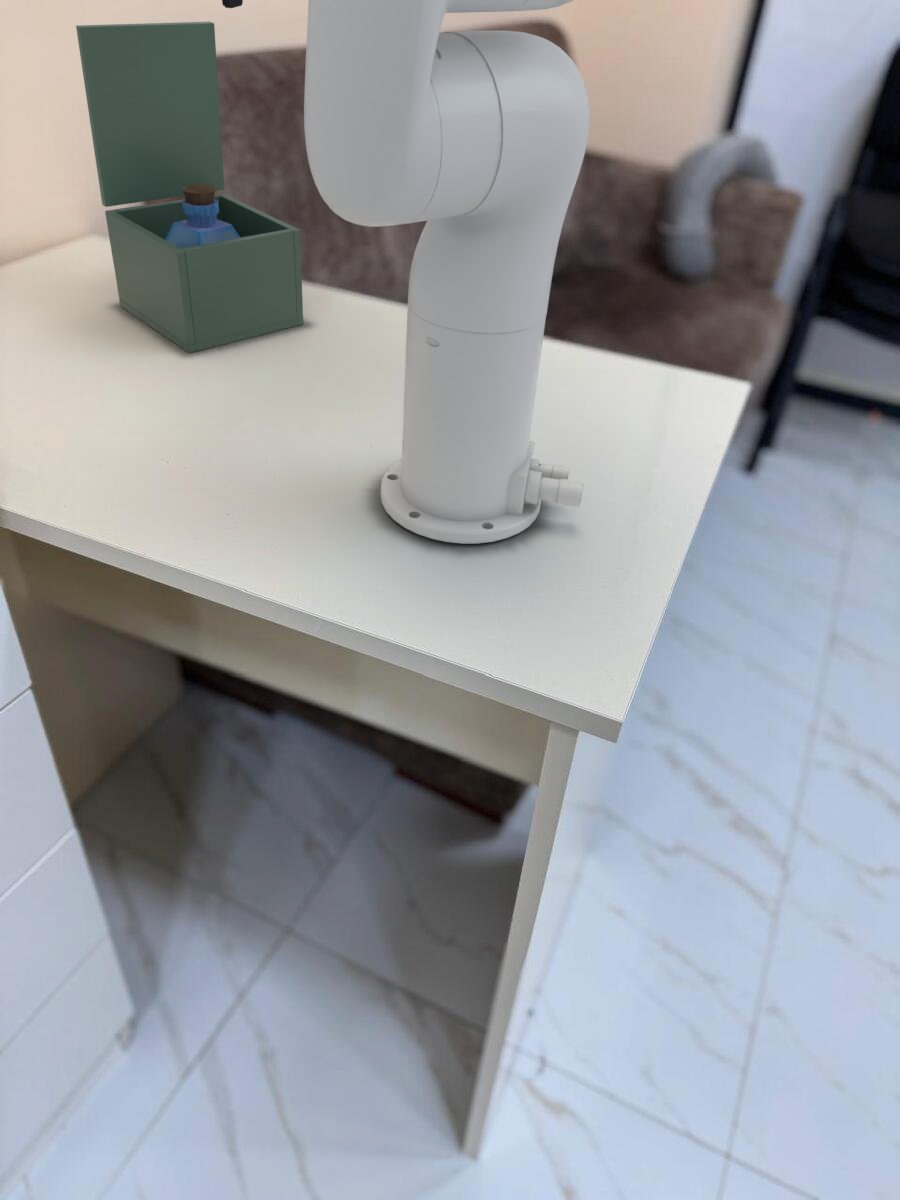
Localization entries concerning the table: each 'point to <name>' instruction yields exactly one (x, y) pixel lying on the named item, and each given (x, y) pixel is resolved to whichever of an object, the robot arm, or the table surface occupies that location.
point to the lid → (152, 108)
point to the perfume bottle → (200, 219)
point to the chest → (207, 274)
